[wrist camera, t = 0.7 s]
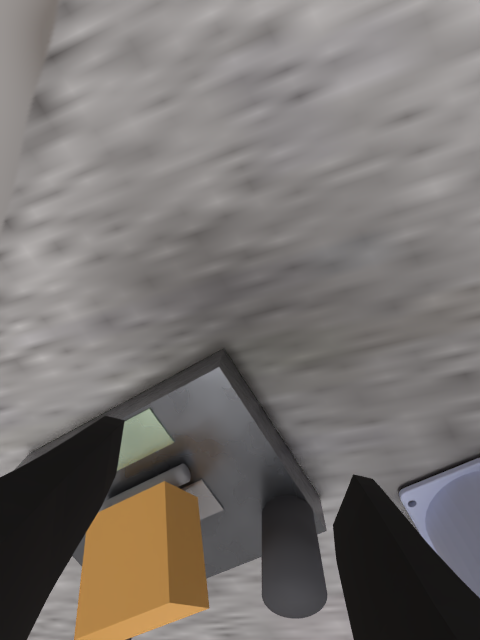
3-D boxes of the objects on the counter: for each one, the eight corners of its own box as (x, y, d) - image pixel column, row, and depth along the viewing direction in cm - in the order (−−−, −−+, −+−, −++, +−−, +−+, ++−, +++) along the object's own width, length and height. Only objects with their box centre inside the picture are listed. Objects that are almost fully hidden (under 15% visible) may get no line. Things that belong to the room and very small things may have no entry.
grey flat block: (319, 498, 24) (326, 532, 21) (135, 575, 27) (122, 613, 24) (223, 348, 21) (218, 367, 18) (29, 453, 24) (3, 482, 21)
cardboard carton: (199, 472, 21) (214, 606, 16) (123, 508, 22) (117, 642, 18) (168, 454, 19) (175, 600, 14) (86, 494, 20) (68, 642, 16)
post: (322, 524, 21) (338, 606, 17) (277, 543, 22) (281, 625, 17) (298, 487, 20) (308, 562, 16) (252, 507, 21) (249, 584, 17)
